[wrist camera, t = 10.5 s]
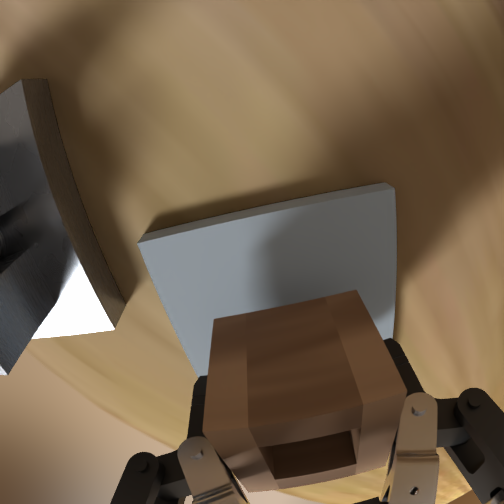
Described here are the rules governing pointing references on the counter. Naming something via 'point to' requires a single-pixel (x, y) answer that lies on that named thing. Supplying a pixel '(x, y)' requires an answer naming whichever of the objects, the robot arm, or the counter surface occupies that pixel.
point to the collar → (301, 393)
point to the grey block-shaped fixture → (45, 233)
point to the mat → (276, 261)
